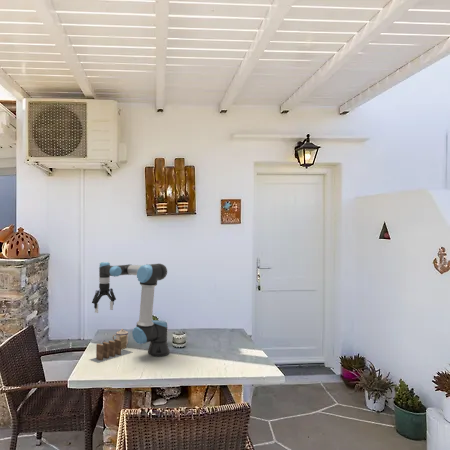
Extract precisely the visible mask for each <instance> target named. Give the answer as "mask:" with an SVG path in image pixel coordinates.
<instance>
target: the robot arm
mask: <svg viewBox="0 0 450 450" xmlns="http://www.w3.org/2000/svg"><path fill="white" fill-rule="evenodd" d="M98 269H99V270H98V271H99V275H98V276H99V277H98V281H99V282H98V283H99V284H98V288H99V289H98V290H97V289H96V290H95V294H94V296H93V298H92V301H91V304H94V305H93V308H94V313H95V314H98V313H99V301H100V300H101V298H102V297H103V296H107V298H109V310H110V311H113V310H114V304H115V303H114V302H115V301H116V300H117V298H116V294H115V293H114V290H113V288H112V287H110V285H111V283H110V282H111V281H110V280H111V279H110V276H111V277H113V278H114V277H115V278H116V277H120V276H127V275H128V276H136V279H137V281H138V282H139V285H140V286H141V290H140V291H141V293H140V304H139V316H138V317H139V319H138V321H137V322H136V324H135V325H136V326H135V327H133V329H132V332H131V333H132V339H133V340H134V342H135V343H136V344H138V345H143V344H146V343H149V342H150V344H149V346H148V349H147V354H148V355H149V356H151V357H164V356H165V357H166V356H168V355H169V354H170V348H169V345H168V323H167V321H164V320H157V319H155V320H154V319H153V308H154V300H155V299H154V297H155V287H156V286H157V285H158V281H162V280H164V279H165V278H166V277H167V276H168V275H167V274H168V268H167V266H166V265H164V264H162V263H151V264H148V263H146V264H142V265H141V264H140V265H139V264H130V263H129V264H119V265H111V264H110V262H109V261H108V262H107V261H105V262H104V261H103V262H100V263H99V268H98Z"/></svg>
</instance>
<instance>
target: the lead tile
mask: <svg viewBox="0 0 450 450" xmlns="http://www.w3.org/2000/svg"><path fill="white" fill-rule="evenodd" d="M120 340H121V350H126V349H127V344H126V341H127V335H122V336H120Z"/></svg>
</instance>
